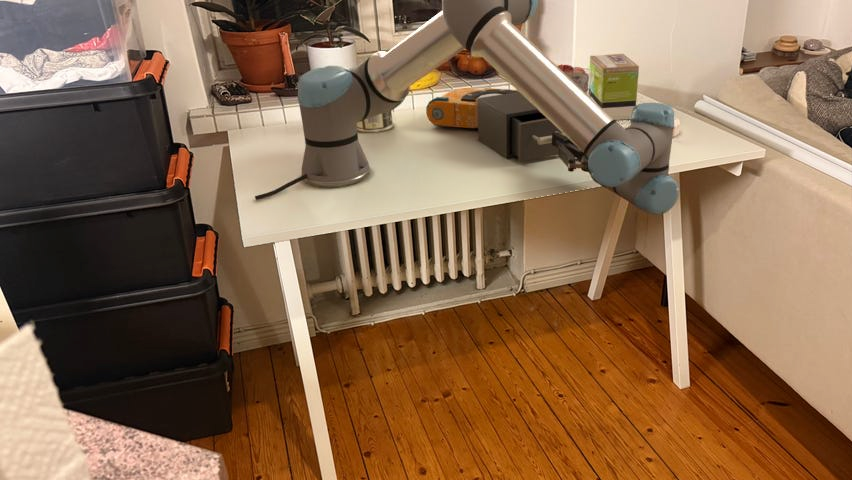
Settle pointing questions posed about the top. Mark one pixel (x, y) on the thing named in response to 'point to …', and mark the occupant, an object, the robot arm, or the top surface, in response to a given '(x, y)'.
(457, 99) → the device
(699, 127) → the top surface
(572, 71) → the food item
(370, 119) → the coffee can
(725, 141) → the top surface
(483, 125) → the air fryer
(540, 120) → the drawer
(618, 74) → the tea box
